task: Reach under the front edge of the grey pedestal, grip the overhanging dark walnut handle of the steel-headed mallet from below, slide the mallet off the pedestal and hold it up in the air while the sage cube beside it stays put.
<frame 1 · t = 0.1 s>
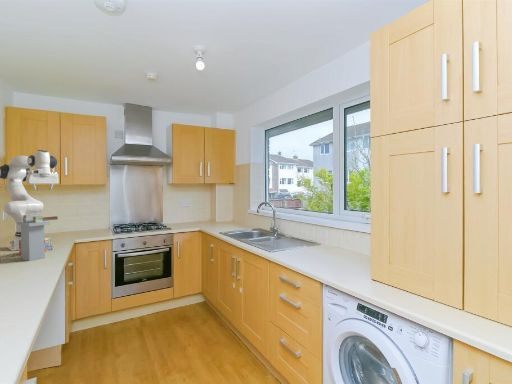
hand: (43, 190, 212), 48 cm above the countertop, tool pointing down, fingers open, 8 cm apart
sage cube: (37, 222, 195), point 26 cm above the countertop, touching grey pedestal
steel-headed mallet: (31, 221, 197), point 26 cm above the countertop, touching grey pedestal
stack of blocks: (36, 252, 215), on the countertop
grey pedestal: (34, 258, 199), on the countertop
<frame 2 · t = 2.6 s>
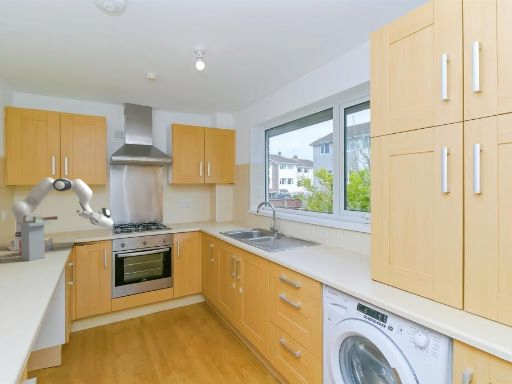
hand: (80, 211, 226), 31 cm above the countertop, tool pointing upward, fingers open, 8 cm apart
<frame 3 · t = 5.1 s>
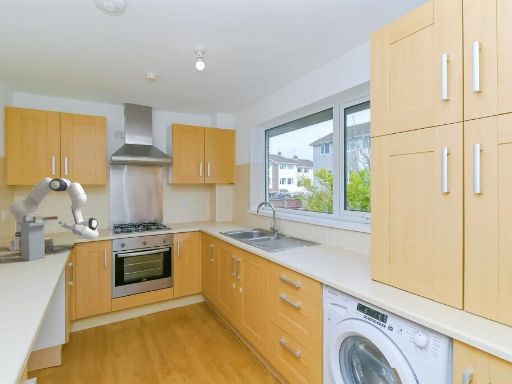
hand: (62, 222, 214), 23 cm above the countertop, tool pointing upward, fingers open, 8 cm apart
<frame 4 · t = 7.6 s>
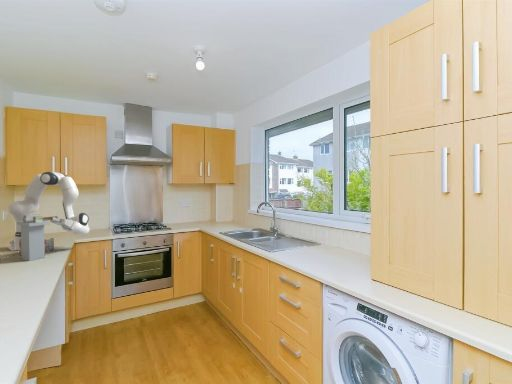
hand: (51, 217, 208), 28 cm above the countertop, tool pointing upward, fingers closed on steel-headed mallet, 2 cm apart
steel-headed mallet: (31, 221, 197), point 26 cm above the countertop, touching grey pedestal, gripper
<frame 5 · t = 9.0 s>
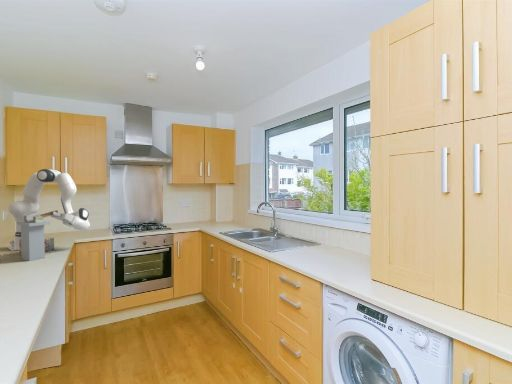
hand: (51, 212, 208), 32 cm above the countertop, tool pointing upward, fingers closed on steel-headed mallet, 2 cm apart
steel-headed mallet: (33, 220, 198), point 27 cm above the countertop, tilted 13°, touching gripper
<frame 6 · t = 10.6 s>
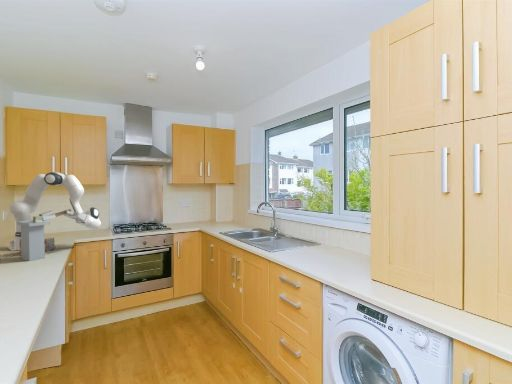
hand: (65, 211, 216), 32 cm above the countertop, tool pointing upward, fingers closed on steel-headed mallet, 2 cm apart
steel-headed mallet: (48, 218, 206), point 27 cm above the countertop, tilted 13°, touching gripper
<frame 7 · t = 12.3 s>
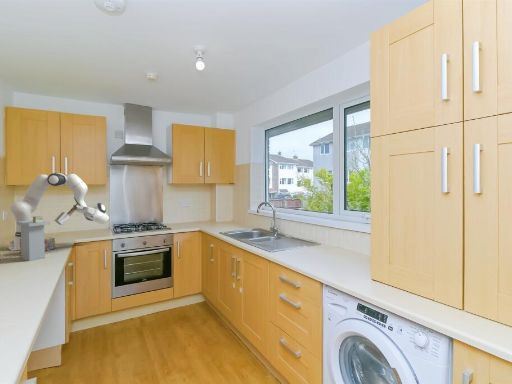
hand: (75, 205, 222), 35 cm above the countertop, tool pointing upward, fingers closed on steel-headed mallet, 2 cm apart
steel-headed mallet: (64, 220, 216), point 24 cm above the countertop, tilted 45°, touching gripper
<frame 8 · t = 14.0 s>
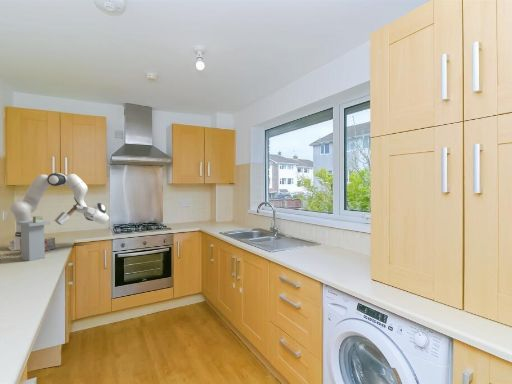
hand: (75, 205, 222), 35 cm above the countertop, tool pointing upward, fingers closed on steel-headed mallet, 2 cm apart
steel-headed mallet: (64, 220, 216), point 24 cm above the countertop, tilted 45°, touching gripper
at the end: the gripper is holding steel-headed mallet; steel-headed mallet touching gripper; sage cube moved 0.0 cm from its start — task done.
